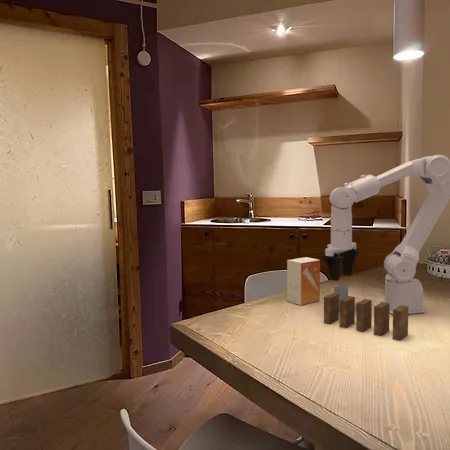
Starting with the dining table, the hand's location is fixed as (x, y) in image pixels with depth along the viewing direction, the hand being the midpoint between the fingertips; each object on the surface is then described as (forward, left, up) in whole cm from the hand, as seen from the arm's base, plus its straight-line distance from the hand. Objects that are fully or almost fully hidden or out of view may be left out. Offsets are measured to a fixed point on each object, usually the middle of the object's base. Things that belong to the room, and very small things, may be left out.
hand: (341, 277), depth 122 cm
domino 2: (+4, +12, -9) cm, 16 cm away
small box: (+7, -11, -10) cm, 16 cm away
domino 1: (+7, +8, -9) cm, 14 cm away
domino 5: (-4, +23, -9) cm, 25 cm away
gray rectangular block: (0, 0, -10) cm, 10 cm away
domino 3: (+1, +16, -9) cm, 18 cm away
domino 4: (-1, +19, -9) cm, 21 cm away
